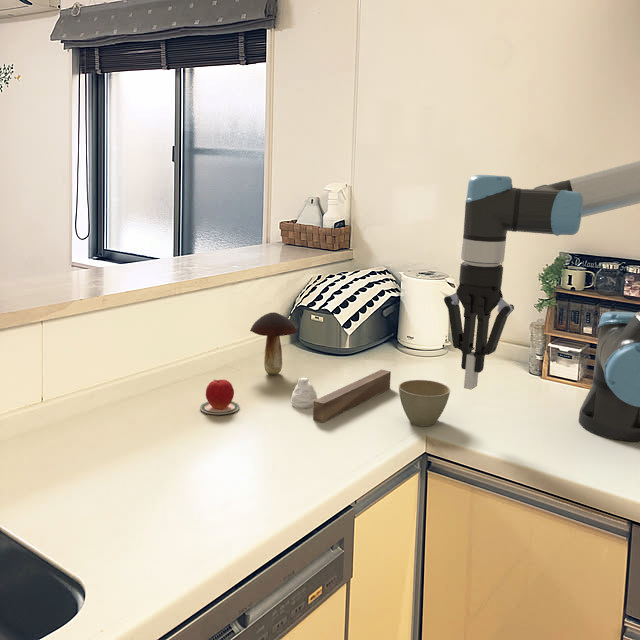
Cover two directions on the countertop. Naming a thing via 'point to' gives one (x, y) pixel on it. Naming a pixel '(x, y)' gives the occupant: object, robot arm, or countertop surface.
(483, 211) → the robot arm
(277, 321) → the decorative mushroom
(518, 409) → the countertop surface
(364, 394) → the board
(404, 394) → the flower pot
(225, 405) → the apple
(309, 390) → the garlic bulb
